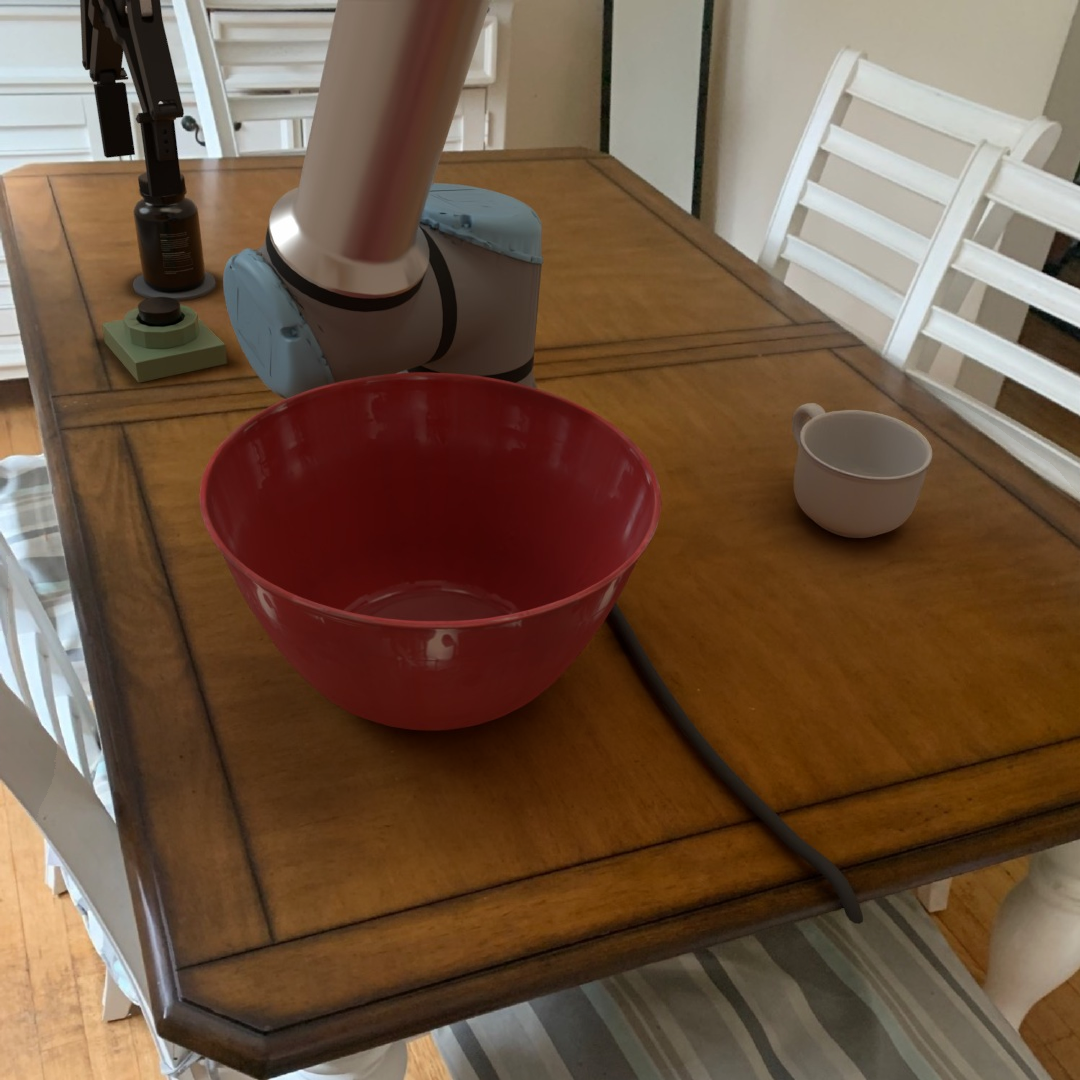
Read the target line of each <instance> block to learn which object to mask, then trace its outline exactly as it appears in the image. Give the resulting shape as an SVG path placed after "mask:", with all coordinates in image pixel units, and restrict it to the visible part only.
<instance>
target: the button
mask: <svg viewBox="0 0 1080 1080" xmlns="http://www.w3.org/2000/svg"><path fill="white" fill-rule="evenodd" d="M180 305H181V302H180V301H178V300H176V299H173V298H169V297H153V298H145V299H142V300H141V301H140V302H139V303H138V304H137V307H138V311H139V318H140V323H141V324H143V325H146V326H150V327H166V326H171V325H175V324H177V323H179V322H181V321H182V315H181V307H180Z"/></svg>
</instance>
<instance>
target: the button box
mask: <svg viewBox="0 0 1080 1080" xmlns="http://www.w3.org/2000/svg"><path fill="white" fill-rule="evenodd" d="M180 307H181V315H182V321H181V322H179V323H177V324H175V325H171V326H166V327H150V326H146V325H143V324H141V323H140V318H139V311H138V306H137V307H134V308H133V309H130V310H129V311H127V312H126V314H125V315H124V318H123V319H119V320H113V321H108V322H107V321H106V322H102V323H101V327H102V331H103V332H102V333H103V339H104V344H105V345H106V346H107V347H108V348H109V349H110V351H111V352H112V353H113V354H114V355H115V357H116V358H117V359H118V360H119V361H120V363H121V364H122V365H123V366H124V368H125V369H126V370H127V371H128V372H129V374H131V376H132V377H133V378H134V379H135V380H136V381H137V383H139V384H140V383H144V382H145V383H146V382H148V381H154V380H159V379H163V378H167V377H173V376H177V375H181V374H187V373H191V372H195V371H196V372H197V371H201V370H205V369H210V368H214V367H219V366H223V365H227V363H228V362H227V360H228V359H227V351H226V344H225V343H224V342H223V341H222V340H221V339H220V338H219V337H218V336H217V335H216V334H215V333H214V332H213V331H212V330H211V328H209V327H208V326H207V325H206V324H205V323H204V322H203V321H202V320H201V319H200V318H199V314H198V313H197V312H196V311H195V310H194V309H193V308H192V307H190V306H187V305H184V304H180Z"/></svg>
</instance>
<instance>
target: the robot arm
mask: <svg viewBox="0 0 1080 1080" xmlns="http://www.w3.org/2000/svg"><path fill="white" fill-rule="evenodd" d="M491 1H492V0H337V2H336V5H335V12H334V16H333V21H332V25H331V26H332V27H331V30H330V35H329V40H328V44H327V45H328V46H327V49H326V55H325V60H324V65H323V70H322V73H321V78H320V82H319V88H318V92H317V98H316V103H315V106H314V107H315V108H314V111H313V116H312V122H311V126H310V131H309V136H308V139H307V140H308V141H307V145H306V149H305V154H304V159H303V164H302V169H301V174H300V177H299V182H298V183H299V184H298V187H295V188H293V189H290V190H288V191H287V192H286V193H284V194H283V195H282V196H281V197H280V198H278V200H277V201H276V202H275V203H274V205H273V207H272V208H271V211H270V214H269V219H268V224H267V229H266V234H265V239H264V242H263V243H264V244H263V245H262V246H261V247H259V248H255V249H252V248H251V247H248V248H244V249H242V250H241V252H239V253H236V254H233V255H232V256H230V258H229V259H228V260H227V262H226V264H225V266H224V269H223V275H222V276H223V277H222V281H223V282H222V283H223V284H222V285H223V295H224V301H225V307H226V310H227V314H228V317H229V320H230V324H231V326H232V329H233V331H234V334H235V337H236V340H237V341H238V344H239V347H240V348H241V350H242V353H243V354H244V357H245V358H246V360H247V361H248V364H249V365H250V367H251V368H252V369H253V372H254V373H255V374H256V376H257V377H258V378H259V379H260V380H261V382H262V383H263V384H264V385H265V386H266V387H267V388H268V390H270V391H271V392H272V393H273V394H275V395H276V396H278V397H280V398H282V399H283V400H285V399H287V398H290V397H292V396H295V395H297V394H300V393H302V392H305V391H308V390H311V389H314V388H318V387H321V386H324V385H328V384H332V383H337V382H341V381H346V380H351V379H356V378H362V377H368V376H375V375H384V374H398V373H414V372H430V373H454V374H464V375H474V376H482V377H488V378H494V379H499V380H504V381H509V382H513V383H518V384H522V385H526V386H530V387H533V388H536V389H538V387H537V382H536V379H535V376H534V375H535V374H534V363H535V360H534V359H535V349H536V347H535V346H536V336H537V335H536V334H537V323H538V314H539V313H538V312H539V299H540V289H541V278H542V266H543V264H544V257H543V255H542V244H543V243H542V242H543V241H542V238H543V237H542V236H543V235H542V234H543V226H542V221H541V219H540V216H538V214H537V213H536V211H535V210H534V209H533V208H532V207H530V206H529V205H528V204H526V203H524V202H523V201H521V200H519V199H518V198H515V197H513V196H510V195H507V194H504V193H501V192H498V191H495V190H491V189H487V188H483V187H477V186H472V185H465V184H459V183H458V184H457V183H441V182H434V180H435V176H436V173H437V170H438V167H439V164H440V160H441V158H442V155H443V151H444V149H445V148H444V147H445V145H446V143H447V139H448V135H449V134H450V129H451V126H452V124H453V120H454V117H455V114H456V110H457V108H458V104H459V101H460V98H461V96H462V92H463V90H464V86H465V83H466V80H467V77H468V74H469V71H470V68H471V64H472V61H473V58H474V55H475V52H476V48H477V46H478V42H479V39H480V36H481V33H482V29H483V27H484V24H485V20H486V17H487V14H488V11H489V8H490V4H491ZM79 9H80V12H79V13H80V35H81V37H80V38H81V59H82V60H81V64H82V67H83V68H84V70H85V71H89V73H88V74H89V78H90V79H91V81H92V83H95V84H93V90H94V96H95V97H94V98H95V103H96V110H97V116H98V117H97V118H98V123H99V131H100V136H101V137H100V138H101V144H102V150H103V156H104V157H105V158H106V159H109V158H119V157H126V156H127V157H128V156H135V155H136V152H135V151H136V150H135V144H134V136H133V129H132V122H131V114H130V107H129V99H128V92H127V85H126V83H125V82H124V81H126V80H129V76H128V74H127V71H126V70H125V67H122V66H123V59H124V58H125V60H126V64H127V67H128V71H129V74H130V76H131V80H132V83H133V86H134V89H135V92H136V96H137V99H138V102H139V106H140V108H141V111H142V112H138V113H137V115H136V117H135V121H136V123H137V124H140V125H139V126H140V133H141V139H142V140H141V141H142V147H143V148H142V149H143V154H144V155H143V156H144V162H145V171H146V172H147V179H148V187H149V194H150V196H151V197H160V196H168V195H175V194H182V185H181V177H180V173H181V169H180V160H179V152H178V143H177V134H176V123H175V121H176V120H177V119H179V118H183V117H184V114H185V113H184V107H183V103H182V98H181V94H180V90H179V85H178V82H177V81H178V80H177V77H176V73H175V68H174V64H173V59H172V55H171V51H170V46H169V41H168V38H167V33H166V29H165V24H164V20H163V12H162V5H161V0H79ZM123 57H124V58H123ZM116 81H120V82H116ZM160 102H161V103H160ZM608 615H609V617H610V618H611V620H612V622H613V624H614V626H615V627H616V629H617V630H618V632H619V634H620V635H621V637H622V640H623V641H624V642H625V645H626V646H627V648H628V650H629V652H630V654H631V656H632V658H633V659H634V661H635V662H636V664H637V666H638V669H639V670H640V671H641V673H642V674H643V677H644V678H645V680H646V682H647V683H648V684H649V686H650V687H651V689H652V690H653V692H654V693H655V695H656V696H657V698H658V699H659V701H660V702H661V704H662V705H663V707H664V708H665V710H666V711H667V713H668V714H669V715H670V717H671V718H672V720H673V721H674V723H675V724H676V726H677V727H678V728H679V729H680V732H682V733H683V735H684V736H685V738H686V739H687V740H688V742H690V744H691V745H692V746H693V748H694V749H695V750H696V751H697V752H698V754H699V755H700V756H701V757H702V759H703V760H704V761H705V763H706V764H708V766H709V767H710V768H711V769H712V770H713V772H714V773H716V775H717V776H718V777H719V778H720V779H721V780H722V781H723V782H724V784H726V786H727V787H728V788H729V789H730V790H731V791H732V792H733V793H734V794H735V795H736V796H737V797H738V798H739V799H740V800H741V801H742V802H743V803H744V804H745V805H746V806H747V807H748V808H749V809H750V810H751V811H752V812H753V813H754V814H755V815H756V816H757V817H758V819H760V820H761V821H762V822H763V823H764V824H765V825H766V826H767V827H768V828H769V829H770V830H771V831H772V832H773V833H774V835H776V836H777V838H778V839H780V840H781V842H783V843H784V844H785V845H786V846H787V847H788V848H789V849H790V850H791V851H792V852H793V853H794V854H796V855H797V856H799V857H800V858H801V859H802V860H804V861H805V863H807V864H809V865H810V866H811V867H813V868H814V869H815V870H816V871H817V872H818V873H820V874H821V875H822V876H823V877H824V878H825V879H826V880H827V882H828V883H829V884H830V885H831V886H832V888H833V890H834V891H835V893H836V895H837V896H838V898H839V901H840V904H841V905H842V907H843V910H844V914H845V916H846V917H847V918H848V920H849V921H851V922H852V923H854V924H858V925H860V924H862V923H863V922H864V915H863V912H862V909H861V908H862V907H861V905H860V903H859V900H858V897H857V895H856V894H855V891H854V890H853V887H852V886H851V883H849V881H848V879H847V877H845V875H844V874H843V872H842V871H841V870H840V869H839V868H838V867H837V866H836V865H835V864H834V863H833V862H832V861H831V860H829V859H828V858H827V857H826V856H825V855H824V854H822V853H821V852H819V850H817V849H816V848H814V847H813V846H812V845H811V844H809V843H807V842H806V841H805V840H804V839H803V838H802V837H801V836H799V835H798V834H797V833H796V832H795V831H794V830H793V829H792V828H791V826H789V825H788V824H787V823H786V822H785V821H784V820H783V819H782V818H781V817H780V816H779V815H778V814H777V813H776V812H775V811H774V809H772V808H771V807H770V806H769V805H768V804H767V803H766V801H764V800H763V799H762V798H761V797H760V796H759V795H758V794H756V792H755V791H754V790H753V789H752V788H751V787H750V786H749V785H748V784H747V783H746V782H744V780H743V779H742V778H741V777H739V775H738V774H737V773H736V772H735V771H734V770H733V769H732V767H730V765H729V764H728V763H727V762H725V760H724V759H723V758H722V757H721V755H720V754H718V752H717V751H716V750H715V749H714V747H713V746H712V745H711V744H710V743H709V742H708V740H707V739H706V738H705V737H704V735H703V734H702V733H701V732H700V730H699V729H698V728H697V727H696V725H695V724H694V723H693V721H692V720H691V718H689V717H688V715H687V714H686V712H685V711H684V709H683V708H682V706H681V705H680V704H679V702H678V701H677V700H676V698H675V696H674V695H673V694H672V692H671V690H670V689H669V688H668V686H667V684H666V683H665V681H664V680H663V678H662V677H661V676H660V674H659V673H658V671H657V669H656V668H655V666H654V665H653V663H652V661H651V659H650V658H649V657H648V655H647V653H646V651H645V650H644V647H643V646H642V644H641V643H640V641H639V639H638V637H637V636H636V634H635V632H634V630H633V628H632V626H631V625H630V623H629V622H628V620H627V618H626V617H625V615H624V613H623V611H622V610H621V609H620V607H619V605H618V604H617V602H616V603H615V604H614V606H613V608H612V609H611V611H610V613H609V614H608Z"/></svg>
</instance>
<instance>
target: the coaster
mask: <svg viewBox="0 0 1080 1080" xmlns="http://www.w3.org/2000/svg"><path fill="white" fill-rule="evenodd" d="M132 286H133V287H132V288H133V290H134V292H135V293H136V294H137V295H138V296H141V297H143V298H145V299H148V298H153V297H169V298H173V299H176V300H178V301H179V302H184V301H189V300H190V301H191V300H196V299H198V298H201V297H204V296H206V295H208V294H210V293H211V292H213V291H214V290H215V288H216V286H217V281H216V278H215V277H214V275H213V274H211V273H210V272H208V271H205V280H204V282H203V283H202V284H201V285H200V286H198V287H196V288H193V289H190V290H186V291H179V292H165V291H158V290H155V289H152V288H150V287H149V286H148V285H147V284H146V283H145V282H144V279H143V273H141V274H140V275H138V276H136V278H135V279H133V282H132Z"/></svg>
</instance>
